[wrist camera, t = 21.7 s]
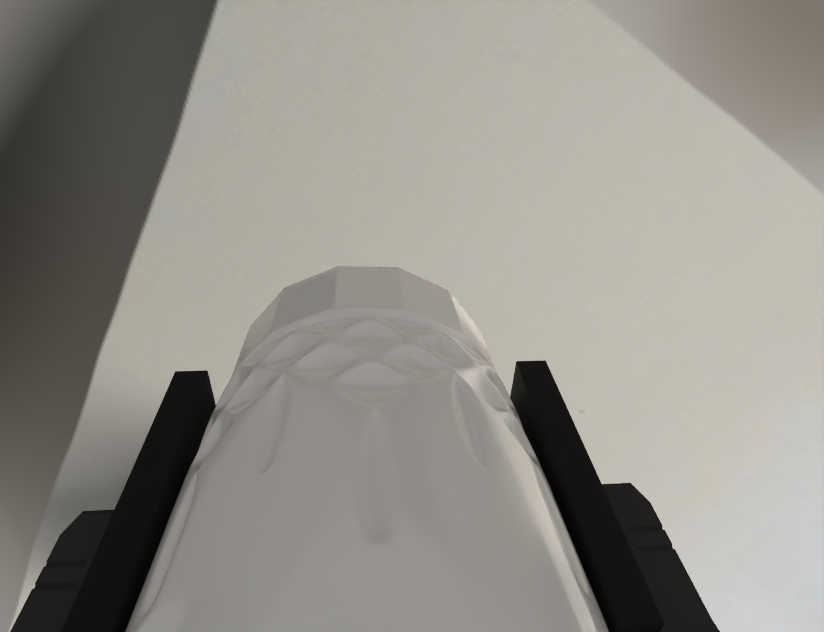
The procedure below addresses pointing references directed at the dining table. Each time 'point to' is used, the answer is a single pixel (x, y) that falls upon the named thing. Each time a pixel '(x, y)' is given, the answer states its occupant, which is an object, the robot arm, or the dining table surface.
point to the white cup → (365, 481)
